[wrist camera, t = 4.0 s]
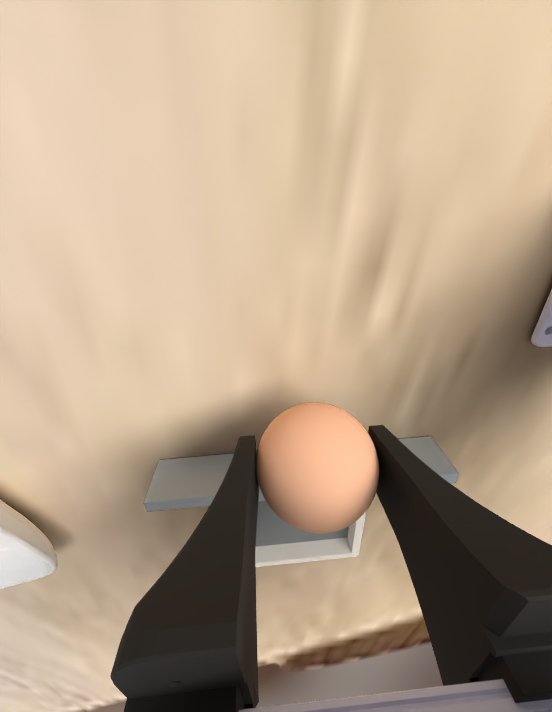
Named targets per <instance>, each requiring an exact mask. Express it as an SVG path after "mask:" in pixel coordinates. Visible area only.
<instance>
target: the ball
mask: <svg viewBox="0 0 552 712" xmlns="http://www.w3.org/2000/svg"><path fill="white" fill-rule="evenodd" d="M256 475H257V480H258V484H259V487H260V490H261V492H262V494H263V497H264V499H265V500H266V502H267V503H268V505H269V506H270V508H271V509H272V510H273V511H274V512H275V514H276V515H277V516H278V517H280V518H281V519H282V520H283V521H285V522H286V523H287V524H289V525H291V526H293V527H295V528H297V529H299V530H302V531H305V532H310V533H317V534H323V533H332V532H336V531H339V530H342V529H344V528H346V527H348V526H350V525H351V524H353V523H354V522H356V521H357V520H358V519H359V518H360V517H361V516H362V515H363V514H364V513H365V512H366V510H367V509H368V508H369V506H370V504H371V502H372V501H373V498H374V496H375V493H376V490H377V486H378V480H379V462H378V456H377V452H376V449H375V446H374V444H373V441H372V439H371V438H370V436H369V434H368V432H367V431H366V430H365V428H364V427H363V426H362V425H361V424H360V422H359V421H357V420H356V419H355V418H354V417H353V416H352V415H350V414H349V413H347V412H346V411H344V410H342V409H340V408H338V407H335V406H332V405H329V404H324V403H304V404H300V405H297V406H294V407H291V408H289V409H287V410H286V411H284V412H282V413H281V414H280V415H279V416H277V417H276V418H275V419H274V420H273V421H272V422H271V423H270V425H269V426H268V427H267V429H266V430H265V432H264V434H263V436H262V438H261V440H260V443H259V446H258V450H257V455H256Z"/></svg>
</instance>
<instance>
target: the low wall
mask: <svg viewBox="0 0 552 712" xmlns="http://www.w3.org/2000/svg"><path fill="white" fill-rule="evenodd" d="M398 440H399V441H400V442H402V443H403V444H404V445H405V446H406V447H407V448H408V449H409V450H410V451H411V452H412V453H414V454H415V455H416V456H417V457H418V458H419V459H420V460H422V461H423V462H424V463H425V464H426V465H427V466H429V467H430V468H431V469H432V470H433V471H435V472H436V473H437V474H438V475H440V476H441V477H442V478H443V479H445V480H446V481H447V482H449V483H456V481H457V478H458V476H459V472H458V471H457V470H456V468H455V467H454V466H453V464H452V463H451V462H450V460H449V459H448V458H447V456H446V455H445V454H444V453H443V451H442V450H441V449H440V447H439V446H438V445H437V443H436V442H435V441H434V439H433V438H432V437H431V436H426V437H415V438H404V439H398ZM256 452H257V451H256ZM233 456H234V453H232V454H221V455H209V456H198V457H186V458H175V459H164V460H159V462H158V464H157V467H156V470H155V473H154V475H153V478H152V481H151V484H150V486H149V489H148V492H147V495H146V497H145V500H144V505H145V508H146V510H147V512H151V511H161V510H172V509H182V508H193V507H203V506H210V505H211V503H212V501H213V499H214V497H215V495H216V493H217V491H218V489H219V487H220V486H221V484H222V482H223V479H224V477H225V475H226V473H227V470H228V468H229V466H230V463H231V461H232V458H233ZM258 501H266V500H265V499H264V497H263V494H262V492H261V490H260V487H259V500H258Z"/></svg>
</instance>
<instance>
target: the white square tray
mask: <svg viewBox="0 0 552 712" xmlns="http://www.w3.org/2000/svg"><path fill="white" fill-rule="evenodd" d="M365 515H366V512H365V513H364V514H363V515H362V516H361V517H360V518H359V519H358V520H357V521H356V522H354V523H353V524H351V525H350V526H348V527H346V528H344V529H342V530H339V531H336V532H332V533H323V534H317V533H310V532H305V531H302V530H299V529H297V528H295V527H293V526H291V525H289V524H287V523H286V522H285V521H283V520H282V519H281V518H280V517H278V516H277V515H276V514H275V512H274V511H273V510H272V509H271V508H270V506H269V505H268V503H267V502H266V501H258V516H257V532H256V549H255V567H262V566H271V565H281V564H290V563H300V562H310V561H319V560H329V559H338V558H348V557H358V556H359V551H360V545H361V539H362V533H363V527H364V521H365Z"/></svg>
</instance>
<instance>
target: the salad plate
mask: <svg viewBox="0 0 552 712" xmlns="http://www.w3.org/2000/svg"><path fill="white" fill-rule="evenodd" d="M56 569H57V555H56V553H55V550H54V548H53V546H52V544H51V543H50V541H49V540H48V539H47V537H46V536H45V535H44V534H43V533H42V532H41V531H40V530H39V529H38V528H37V527H36V526H35V525H34V524H33V523H32V522H30V521H29V520H28V519H27V518H26V517H24V516H23V515H22V514H20V513H19V512H17V511H16V510H14V509H13V508H11V507H10V506H8V505H7V504H6V503H4V501H3V500H1V499H0V589H4V588H7V587H11V586H15V585H18V584H22V583H26V582H29V581H33V580H36V579H39V578H42V577H45V576H47V575H49V574H51V573H53V572H54V571H55V570H56Z"/></svg>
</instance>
